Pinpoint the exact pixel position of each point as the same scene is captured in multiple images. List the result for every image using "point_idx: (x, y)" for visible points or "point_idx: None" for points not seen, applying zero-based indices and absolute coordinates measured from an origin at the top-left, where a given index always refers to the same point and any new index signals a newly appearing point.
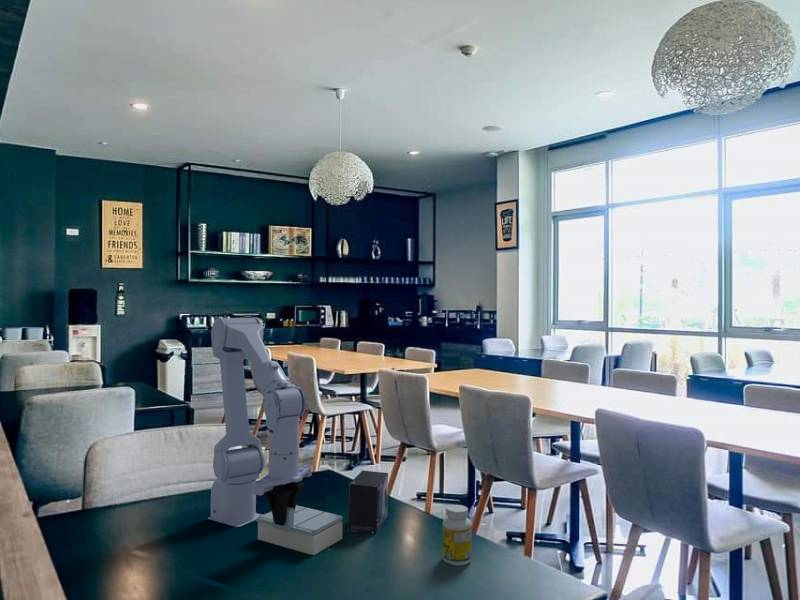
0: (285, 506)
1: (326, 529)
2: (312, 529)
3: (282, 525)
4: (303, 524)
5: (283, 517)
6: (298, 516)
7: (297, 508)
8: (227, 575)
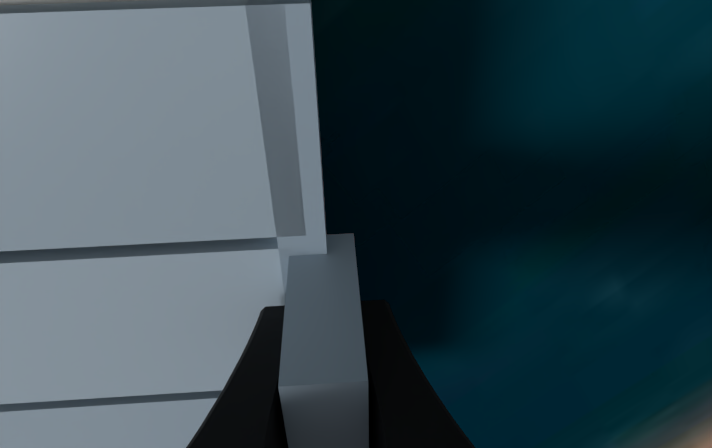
0: (417, 440)
1: (34, 2)
2: (241, 47)
3: (385, 301)
4: (209, 210)
5: (407, 346)
6: (118, 346)
7: (22, 436)
8: (699, 221)
